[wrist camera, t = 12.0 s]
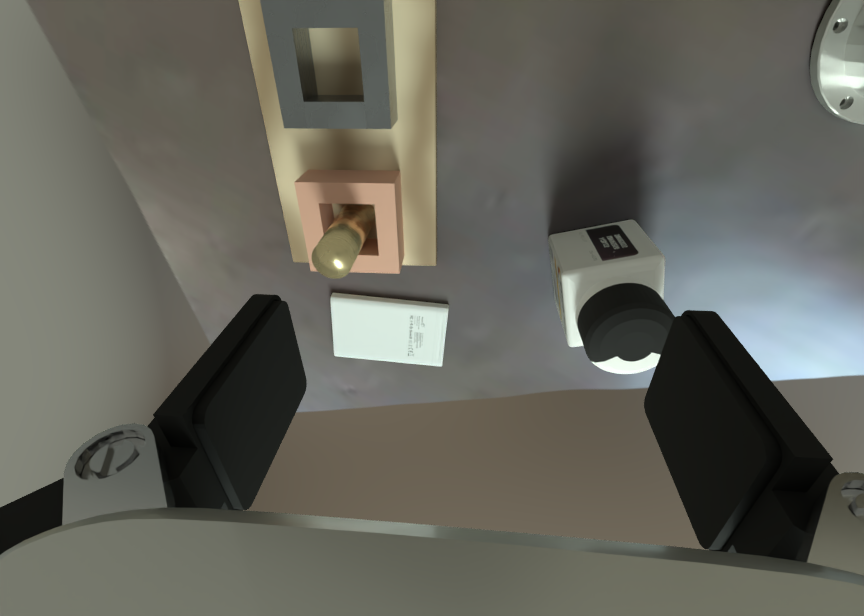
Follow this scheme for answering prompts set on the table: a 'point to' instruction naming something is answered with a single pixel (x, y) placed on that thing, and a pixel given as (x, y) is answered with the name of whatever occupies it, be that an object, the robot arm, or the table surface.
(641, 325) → the container
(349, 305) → the external hard drive
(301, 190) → the socket collar
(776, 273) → the table surface
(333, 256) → the brass pin
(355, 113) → the mount collar
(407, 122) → the oak board
